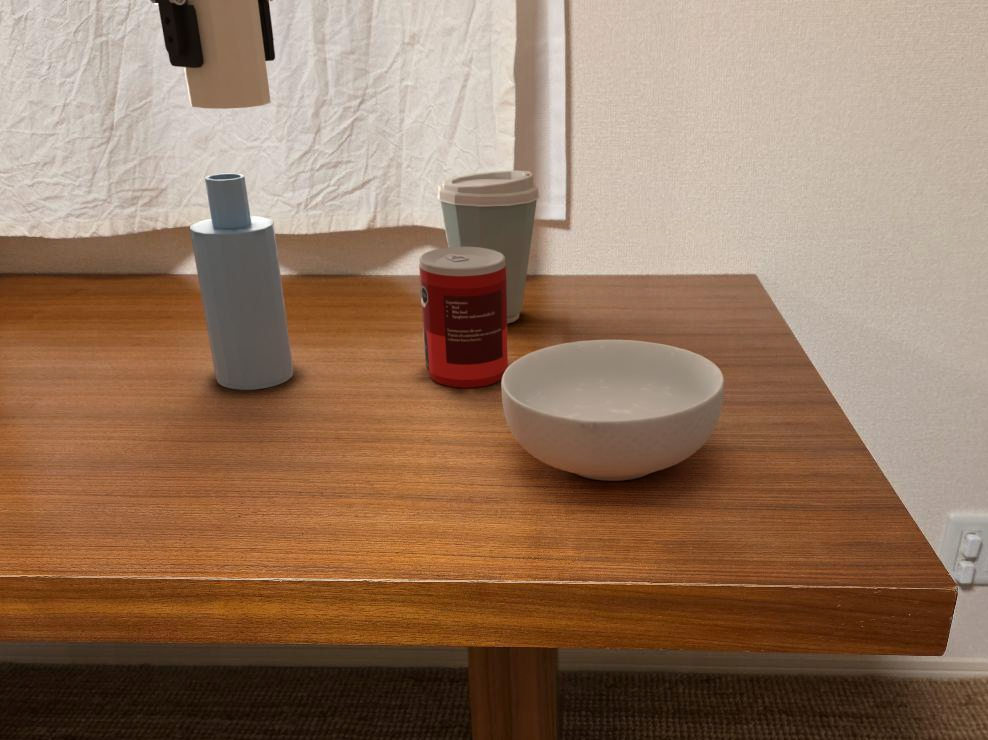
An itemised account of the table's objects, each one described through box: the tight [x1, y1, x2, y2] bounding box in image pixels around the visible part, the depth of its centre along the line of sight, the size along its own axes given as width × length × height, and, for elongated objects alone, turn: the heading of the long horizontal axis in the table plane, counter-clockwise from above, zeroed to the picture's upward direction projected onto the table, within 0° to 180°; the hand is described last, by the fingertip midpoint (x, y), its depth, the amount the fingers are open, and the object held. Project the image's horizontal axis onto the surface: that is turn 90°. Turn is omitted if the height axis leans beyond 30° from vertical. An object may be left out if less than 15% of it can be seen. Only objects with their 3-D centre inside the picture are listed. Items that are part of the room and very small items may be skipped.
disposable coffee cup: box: [436, 170, 540, 324], centre depth 107 cm, size 11×11×15 cm
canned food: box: [418, 247, 509, 389], centre depth 93 cm, size 8×8×11 cm
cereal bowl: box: [500, 339, 725, 482], centre depth 77 cm, size 17×17×7 cm
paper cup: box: [183, 0, 272, 110], centre depth 75 cm, size 6×6×8 cm
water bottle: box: [189, 172, 294, 391], centre depth 91 cm, size 7×7×18 cm
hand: (223, 60), depth 75 cm, fingers closed on paper cup, 5 cm apart
